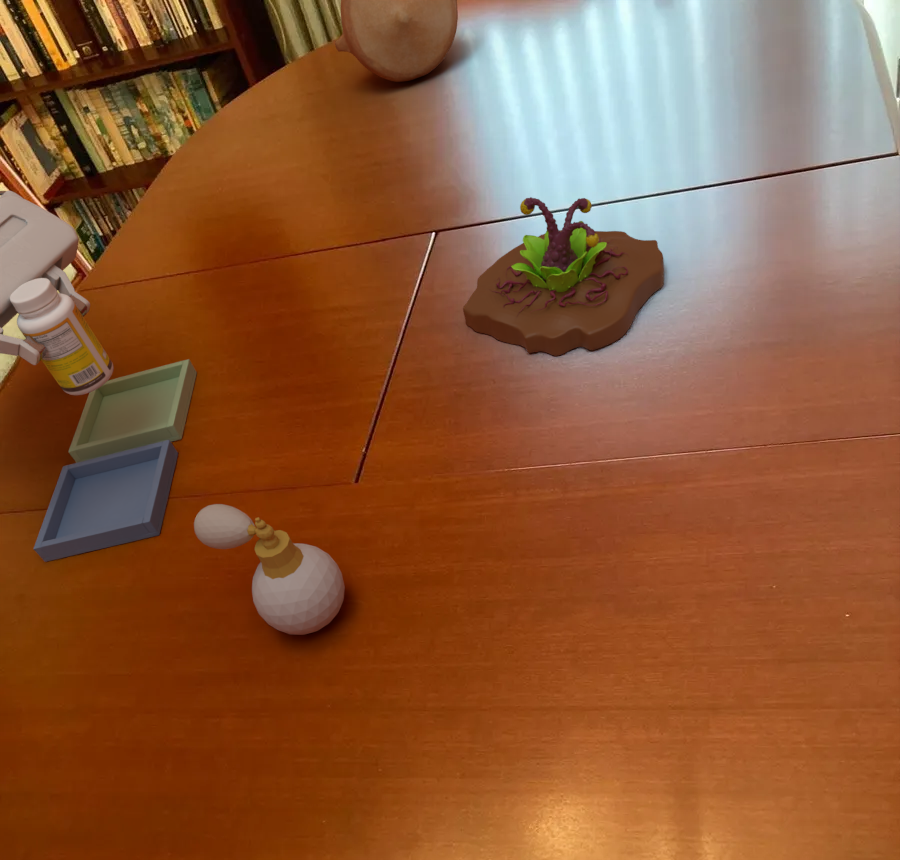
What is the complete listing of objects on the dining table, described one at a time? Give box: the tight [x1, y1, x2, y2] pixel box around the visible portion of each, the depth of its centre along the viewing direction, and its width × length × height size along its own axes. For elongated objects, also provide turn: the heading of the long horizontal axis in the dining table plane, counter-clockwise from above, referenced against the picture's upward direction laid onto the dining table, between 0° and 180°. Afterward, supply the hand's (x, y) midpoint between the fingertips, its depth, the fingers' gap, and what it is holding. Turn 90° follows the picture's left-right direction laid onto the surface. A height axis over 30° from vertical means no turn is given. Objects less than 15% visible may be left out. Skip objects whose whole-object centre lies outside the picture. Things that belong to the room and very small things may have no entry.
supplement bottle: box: [10, 278, 114, 396], centre depth 84 cm, size 6×6×10 cm
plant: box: [462, 196, 665, 357], centre depth 91 cm, size 20×20×11 cm
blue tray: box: [33, 440, 179, 563], centre depth 91 cm, size 13×13×2 cm
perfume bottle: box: [193, 503, 346, 636], centre depth 70 cm, size 8×10×12 cm
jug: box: [334, 0, 459, 83], centre depth 148 cm, size 20×19×30 cm
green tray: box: [68, 358, 198, 463], centre depth 101 cm, size 13×13×2 cm
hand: (63, 334), depth 84 cm, fingers closed on supplement bottle, 5 cm apart
